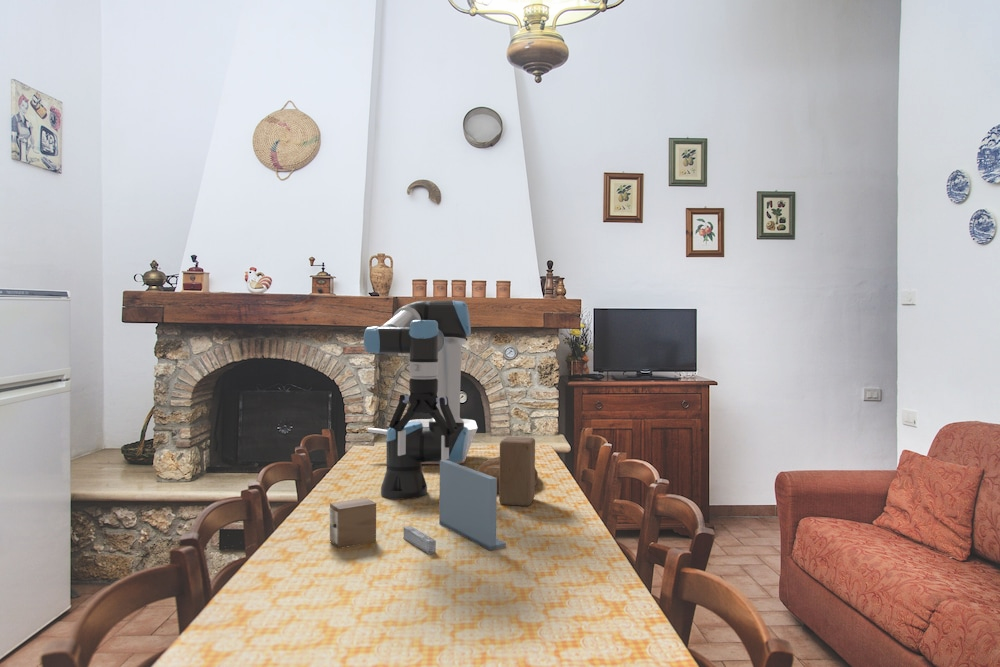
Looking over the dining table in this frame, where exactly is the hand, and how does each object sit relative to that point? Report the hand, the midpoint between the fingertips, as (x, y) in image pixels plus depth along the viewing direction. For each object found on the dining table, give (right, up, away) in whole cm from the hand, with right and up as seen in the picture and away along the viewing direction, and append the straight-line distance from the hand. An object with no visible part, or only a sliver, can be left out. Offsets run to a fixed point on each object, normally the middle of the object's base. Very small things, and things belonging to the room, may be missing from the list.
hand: (423, 457), depth 178 cm
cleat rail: (0, -21, -8) cm, 22 cm away
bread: (+23, -21, +60) cm, 67 cm away
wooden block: (+26, -21, +34) cm, 48 cm away
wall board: (+13, -21, +1) cm, 25 cm away
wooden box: (-18, -21, -5) cm, 28 cm away
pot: (-11, -19, +95) cm, 97 cm away
